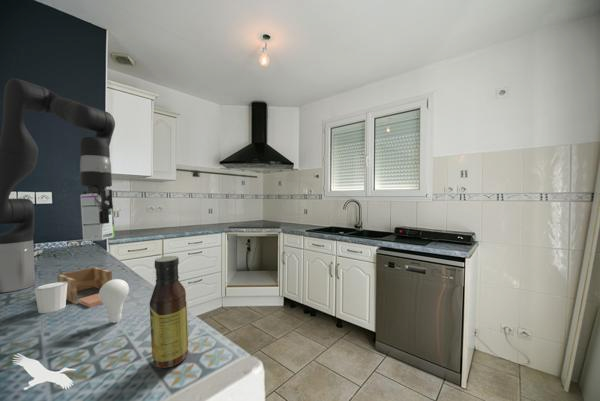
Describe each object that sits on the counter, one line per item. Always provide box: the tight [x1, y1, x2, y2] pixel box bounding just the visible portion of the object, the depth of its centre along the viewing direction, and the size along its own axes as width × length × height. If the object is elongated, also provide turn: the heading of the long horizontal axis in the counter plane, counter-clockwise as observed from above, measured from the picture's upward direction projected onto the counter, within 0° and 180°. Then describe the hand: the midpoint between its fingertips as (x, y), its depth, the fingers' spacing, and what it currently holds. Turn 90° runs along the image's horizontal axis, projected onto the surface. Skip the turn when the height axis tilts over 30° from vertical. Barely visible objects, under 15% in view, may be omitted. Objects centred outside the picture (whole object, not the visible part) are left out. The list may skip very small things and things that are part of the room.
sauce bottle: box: [149, 255, 189, 369], centre depth 47 cm, size 6×6×20 cm
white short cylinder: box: [34, 281, 68, 314], centre depth 71 cm, size 7×7×7 cm
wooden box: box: [57, 266, 113, 304], centre depth 82 cm, size 13×10×7 cm
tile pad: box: [78, 292, 104, 309], centre depth 77 cm, size 8×8×1 cm
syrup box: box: [79, 193, 116, 242], centre depth 77 cm, size 6×6×14 cm
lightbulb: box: [98, 278, 130, 324], centre depth 62 cm, size 6×6×11 cm
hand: (98, 223), depth 77 cm, fingers closed on syrup box, 7 cm apart
